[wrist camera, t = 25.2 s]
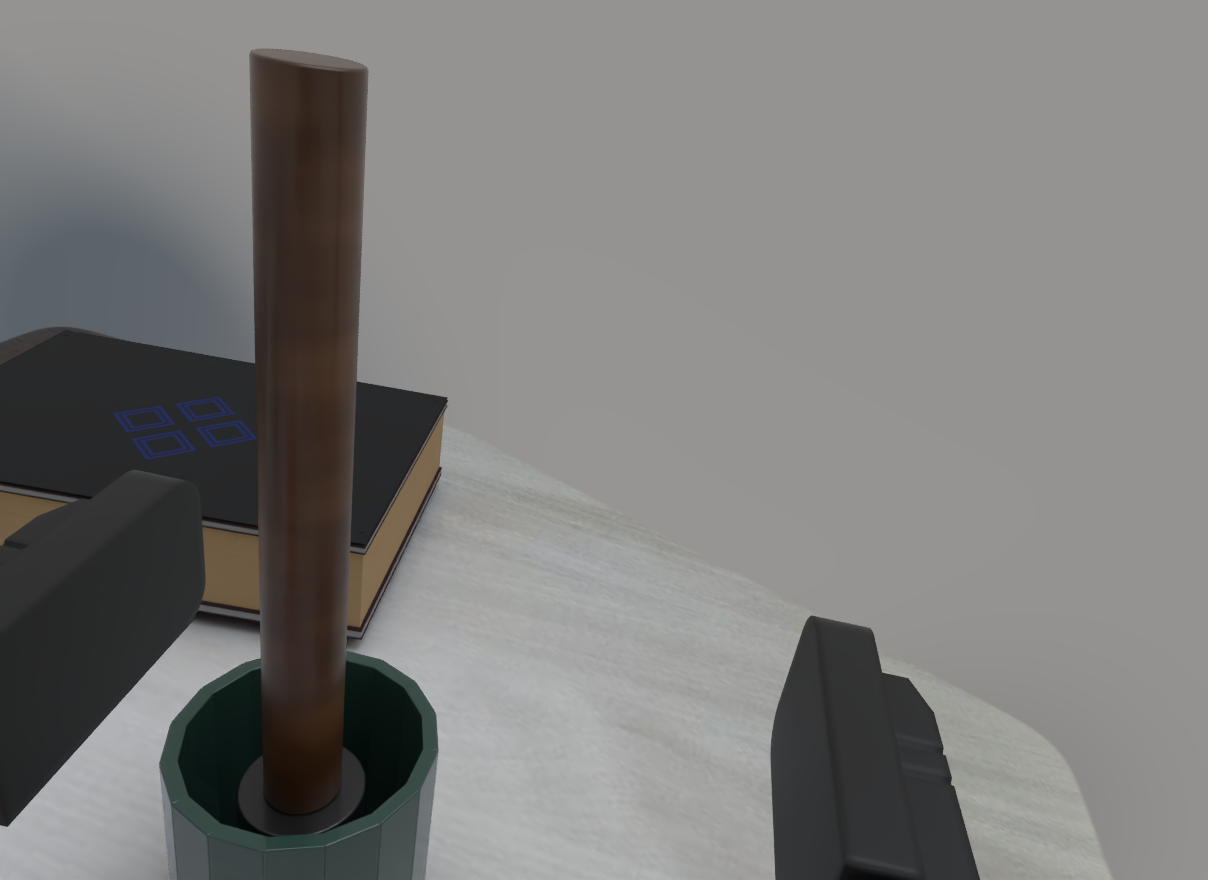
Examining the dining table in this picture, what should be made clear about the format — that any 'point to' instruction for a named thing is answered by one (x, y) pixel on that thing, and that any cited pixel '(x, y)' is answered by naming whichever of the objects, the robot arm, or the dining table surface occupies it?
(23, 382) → the book
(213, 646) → the dining table surface
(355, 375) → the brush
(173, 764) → the green faceted cup
